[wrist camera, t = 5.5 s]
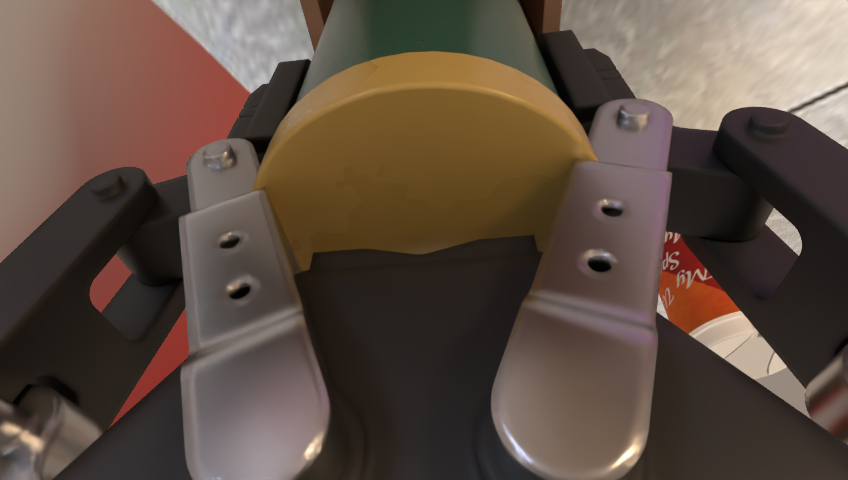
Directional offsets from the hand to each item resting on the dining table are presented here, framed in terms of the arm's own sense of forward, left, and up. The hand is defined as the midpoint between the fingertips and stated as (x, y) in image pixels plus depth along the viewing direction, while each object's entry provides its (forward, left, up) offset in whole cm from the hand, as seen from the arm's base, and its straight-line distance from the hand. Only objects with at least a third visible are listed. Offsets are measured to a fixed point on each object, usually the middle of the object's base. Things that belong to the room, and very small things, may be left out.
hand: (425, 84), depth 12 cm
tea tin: (0, 0, -8) cm, 8 cm away
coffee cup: (+20, -26, -21) cm, 39 cm away
